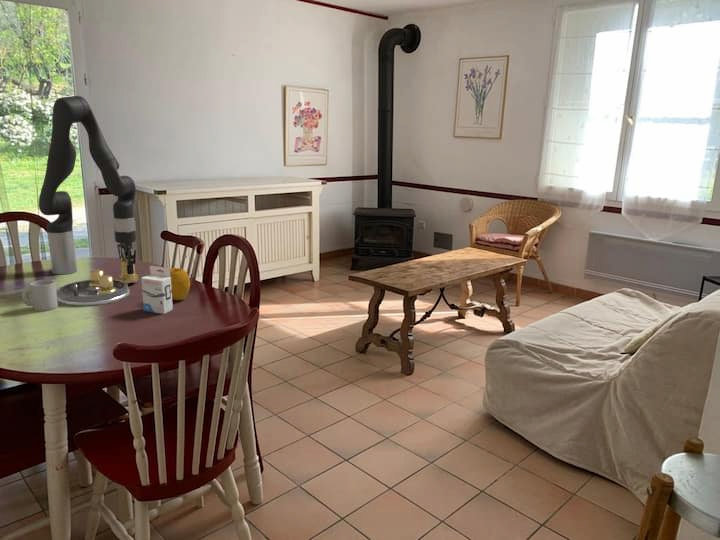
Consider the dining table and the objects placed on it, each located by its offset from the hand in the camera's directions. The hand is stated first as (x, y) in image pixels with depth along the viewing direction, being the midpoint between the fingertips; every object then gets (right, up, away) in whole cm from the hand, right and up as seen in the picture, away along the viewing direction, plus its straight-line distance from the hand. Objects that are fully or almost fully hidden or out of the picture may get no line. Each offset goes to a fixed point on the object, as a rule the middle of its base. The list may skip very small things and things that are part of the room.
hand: (128, 272), depth 213 cm
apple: (+24, -10, -16) cm, 30 cm away
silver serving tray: (-6, -8, -15) cm, 18 cm away
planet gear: (0, -3, +1) cm, 3 cm away
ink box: (+22, -13, -28) cm, 38 cm away
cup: (-17, -12, -29) cm, 36 cm away
